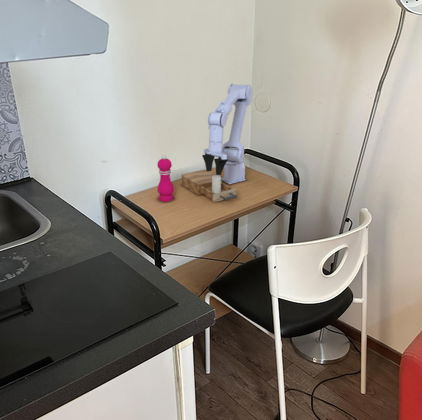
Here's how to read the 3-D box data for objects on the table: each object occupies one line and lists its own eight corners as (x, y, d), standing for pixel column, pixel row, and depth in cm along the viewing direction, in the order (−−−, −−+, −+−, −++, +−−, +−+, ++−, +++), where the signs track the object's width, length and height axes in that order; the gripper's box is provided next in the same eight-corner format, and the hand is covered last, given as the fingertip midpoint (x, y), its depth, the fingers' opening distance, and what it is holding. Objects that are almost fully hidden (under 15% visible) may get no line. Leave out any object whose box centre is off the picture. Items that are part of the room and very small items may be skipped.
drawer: (242, 199, 187) (242, 192, 186) (219, 206, 183) (219, 198, 181) (218, 186, 202) (218, 179, 201) (197, 191, 197) (197, 184, 196)
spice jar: (217, 189, 196) (217, 174, 193) (222, 192, 193) (223, 177, 190) (210, 191, 195) (210, 176, 192) (215, 194, 191) (215, 179, 188)
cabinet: (221, 189, 201) (222, 178, 199) (198, 195, 196) (198, 184, 194) (204, 179, 213) (204, 169, 211) (181, 184, 208) (181, 174, 206)
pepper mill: (161, 203, 190) (159, 159, 181) (155, 197, 196) (152, 154, 187) (177, 200, 192) (175, 156, 184) (170, 194, 198) (168, 151, 190)
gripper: (198, 139, 190) (196, 170, 195) (217, 144, 178) (215, 177, 182) (212, 138, 194) (210, 168, 198) (231, 143, 181) (229, 176, 186)
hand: (213, 173), depth 190 cm, fingers open, 7 cm apart
